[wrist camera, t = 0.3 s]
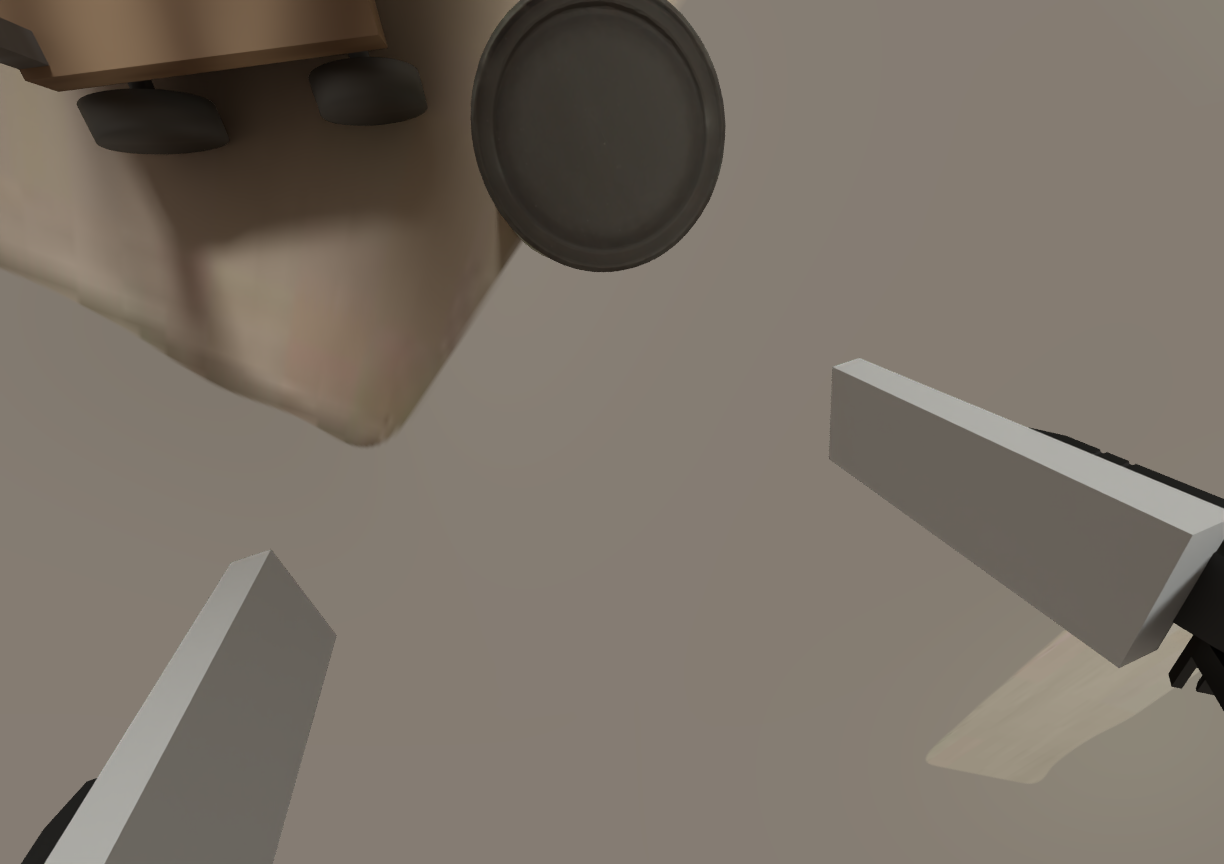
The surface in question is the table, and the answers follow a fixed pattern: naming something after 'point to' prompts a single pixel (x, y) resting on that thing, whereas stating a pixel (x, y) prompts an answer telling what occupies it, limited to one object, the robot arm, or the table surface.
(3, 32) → the trolley
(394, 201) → the table surface
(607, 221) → the coffee can
